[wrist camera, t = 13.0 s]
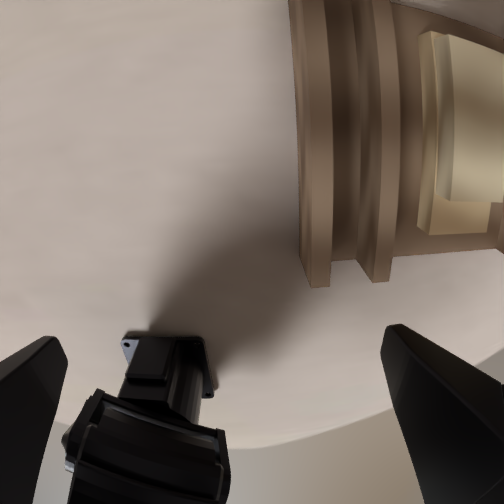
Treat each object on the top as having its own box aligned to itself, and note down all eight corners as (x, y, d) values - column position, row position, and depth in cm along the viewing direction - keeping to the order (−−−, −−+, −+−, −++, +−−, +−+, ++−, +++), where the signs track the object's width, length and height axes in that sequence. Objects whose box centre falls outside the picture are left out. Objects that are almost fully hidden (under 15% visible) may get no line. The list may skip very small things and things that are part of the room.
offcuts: (473, 224, 18) (500, 241, 15) (416, 226, 18) (442, 245, 15) (477, 53, 13) (508, 48, 10) (417, 35, 13) (445, 25, 10)
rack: (519, 241, 20) (549, 260, 16) (299, 255, 20) (310, 288, 16) (528, 56, 13) (561, 55, 9) (287, -3, 13) (297, -31, 10)
